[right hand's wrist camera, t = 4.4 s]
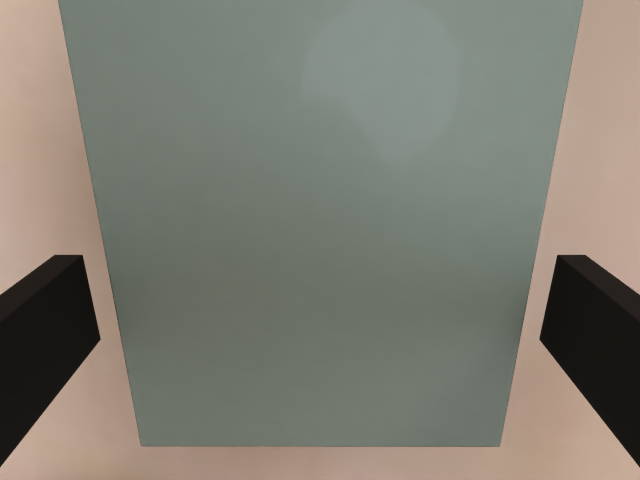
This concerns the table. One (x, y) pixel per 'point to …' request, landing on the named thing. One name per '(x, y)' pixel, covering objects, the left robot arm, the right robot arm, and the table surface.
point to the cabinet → (320, 209)
